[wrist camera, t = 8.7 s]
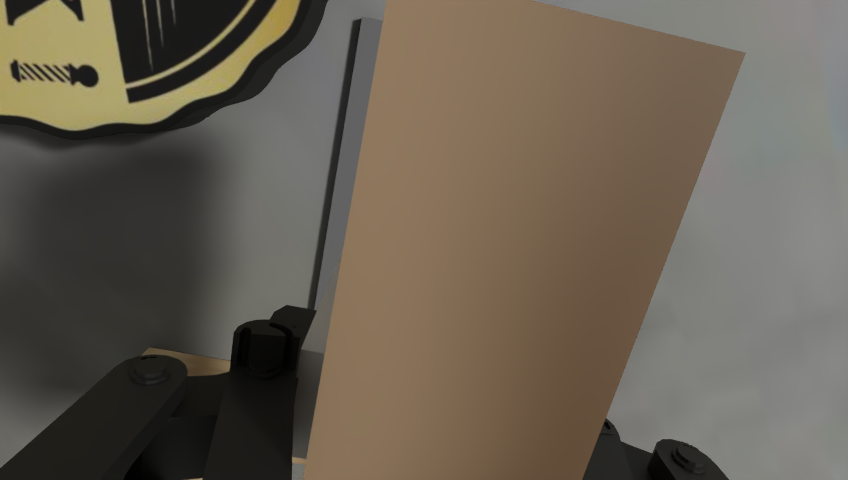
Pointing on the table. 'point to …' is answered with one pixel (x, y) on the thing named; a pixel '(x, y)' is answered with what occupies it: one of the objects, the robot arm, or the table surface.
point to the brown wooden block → (505, 236)
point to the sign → (141, 60)
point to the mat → (350, 149)
